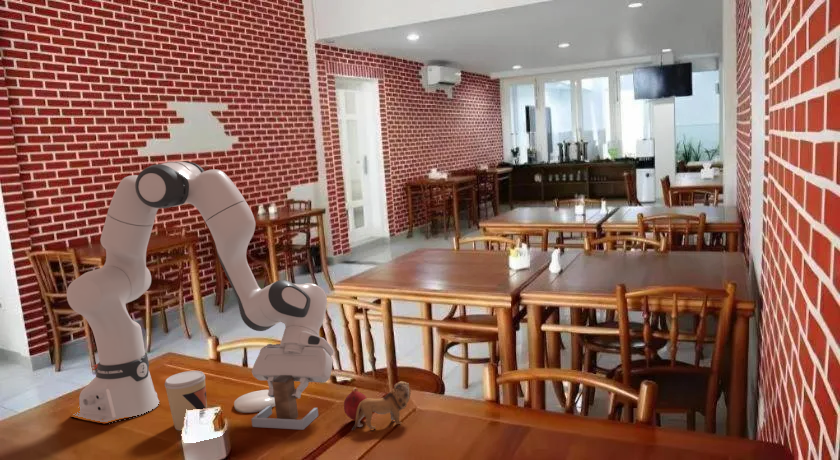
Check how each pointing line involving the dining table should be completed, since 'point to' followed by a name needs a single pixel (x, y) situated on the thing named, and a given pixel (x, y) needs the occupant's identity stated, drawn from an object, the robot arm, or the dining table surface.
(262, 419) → the grey u-shaped bracket
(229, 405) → the dining table surface
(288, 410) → the brown rectangular block
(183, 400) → the coffee cup
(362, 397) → the onion
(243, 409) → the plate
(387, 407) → the lion figurine
